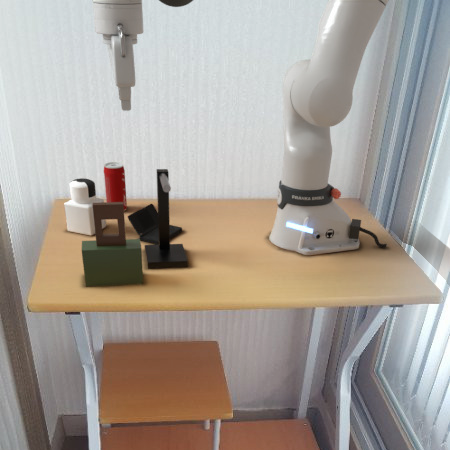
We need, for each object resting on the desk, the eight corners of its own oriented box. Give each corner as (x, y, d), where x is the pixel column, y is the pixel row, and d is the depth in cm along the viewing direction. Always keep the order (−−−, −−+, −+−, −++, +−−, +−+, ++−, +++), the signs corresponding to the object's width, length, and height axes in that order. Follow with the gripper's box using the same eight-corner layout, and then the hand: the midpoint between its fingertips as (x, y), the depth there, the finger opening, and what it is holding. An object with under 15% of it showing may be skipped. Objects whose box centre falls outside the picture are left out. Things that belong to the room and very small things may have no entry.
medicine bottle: (82, 222, 151) (77, 174, 144) (106, 226, 150) (102, 178, 142) (67, 231, 146) (60, 182, 139) (91, 236, 144) (86, 187, 137)
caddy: (141, 273, 128) (137, 198, 118) (143, 283, 124) (139, 206, 114) (86, 276, 126) (77, 199, 116) (85, 286, 122) (76, 208, 113)
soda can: (128, 212, 158) (125, 166, 151) (107, 213, 157) (103, 167, 150) (126, 205, 163) (123, 160, 156) (106, 206, 162) (102, 161, 154)
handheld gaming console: (168, 239, 140) (145, 202, 137) (146, 254, 143) (123, 217, 141) (185, 230, 150) (164, 194, 147) (164, 243, 153) (143, 209, 151)
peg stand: (182, 249, 140) (182, 167, 128) (188, 269, 131) (188, 183, 120) (144, 250, 138) (140, 167, 127) (148, 271, 130) (144, 183, 118)
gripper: (140, 27, 99) (145, 116, 108) (132, 17, 115) (137, 94, 124) (102, 27, 98) (110, 116, 107) (100, 16, 114) (107, 95, 123)
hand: (125, 104), depth 115 cm, fingers open, 8 cm apart
